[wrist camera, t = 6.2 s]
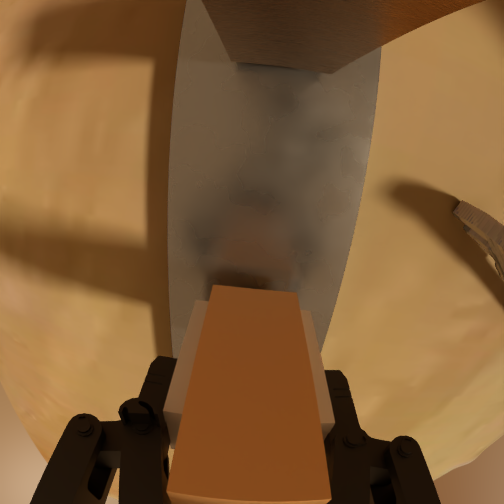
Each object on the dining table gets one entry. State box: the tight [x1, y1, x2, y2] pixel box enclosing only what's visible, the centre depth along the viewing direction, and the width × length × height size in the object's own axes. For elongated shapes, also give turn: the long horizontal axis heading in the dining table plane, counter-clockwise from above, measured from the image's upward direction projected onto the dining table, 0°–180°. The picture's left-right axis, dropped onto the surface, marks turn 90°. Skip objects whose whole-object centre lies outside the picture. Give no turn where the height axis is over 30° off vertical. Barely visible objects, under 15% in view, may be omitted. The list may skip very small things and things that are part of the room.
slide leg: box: [166, 285, 332, 504], centre depth 11 cm, size 4×4×11 cm
